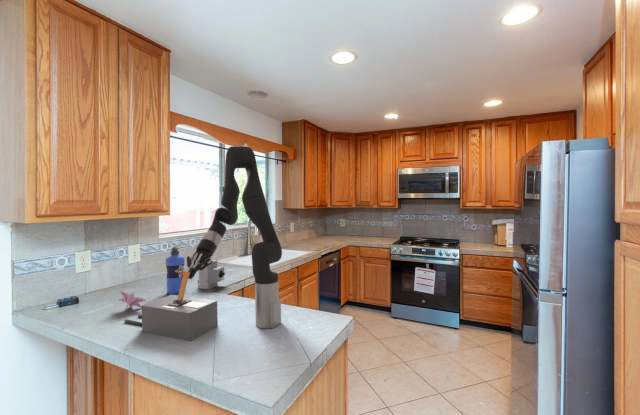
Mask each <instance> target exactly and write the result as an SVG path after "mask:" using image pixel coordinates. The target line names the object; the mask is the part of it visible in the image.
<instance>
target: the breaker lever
mask: <svg viewBox="0 0 640 415" xmlns="http://www.w3.org/2000/svg"><path fill="white" fill-rule="evenodd" d="M189 275H190V272H188V271H184V272H183V279H182V283H181V287H180V291H179V294H178V299H177V302H180V301H181V300H183V297H184V296H185V293H186V288H187V284H188V280H189V279H188V277H189Z"/></svg>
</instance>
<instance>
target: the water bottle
mask: <svg viewBox="0 0 640 415" xmlns="http://www.w3.org/2000/svg"><path fill="white" fill-rule="evenodd" d="M185 260H186V259H185V256H182V255H180V250H179V248H178V246H173V247H172V248H171V249H170V256H168V257H166V258H165V265H166V266H165V267H166V295H167V296H169V295H179V291H180V287H181V283H182V279H183V272H184V269H185V263H186V262H185Z"/></svg>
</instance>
